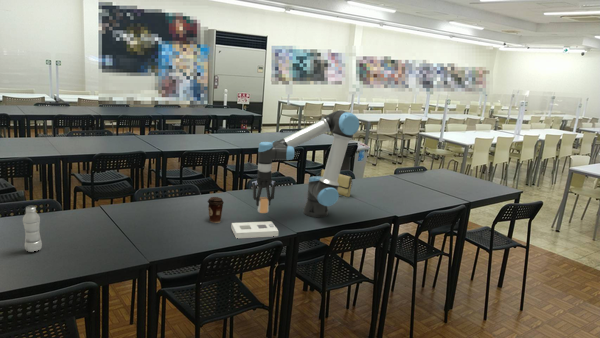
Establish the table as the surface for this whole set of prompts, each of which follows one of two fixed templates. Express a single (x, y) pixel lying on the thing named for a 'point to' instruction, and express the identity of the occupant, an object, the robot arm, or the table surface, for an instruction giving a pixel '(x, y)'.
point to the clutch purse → (342, 184)
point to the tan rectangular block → (263, 204)
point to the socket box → (254, 229)
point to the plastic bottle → (32, 229)
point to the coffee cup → (215, 209)
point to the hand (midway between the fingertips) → (263, 211)
